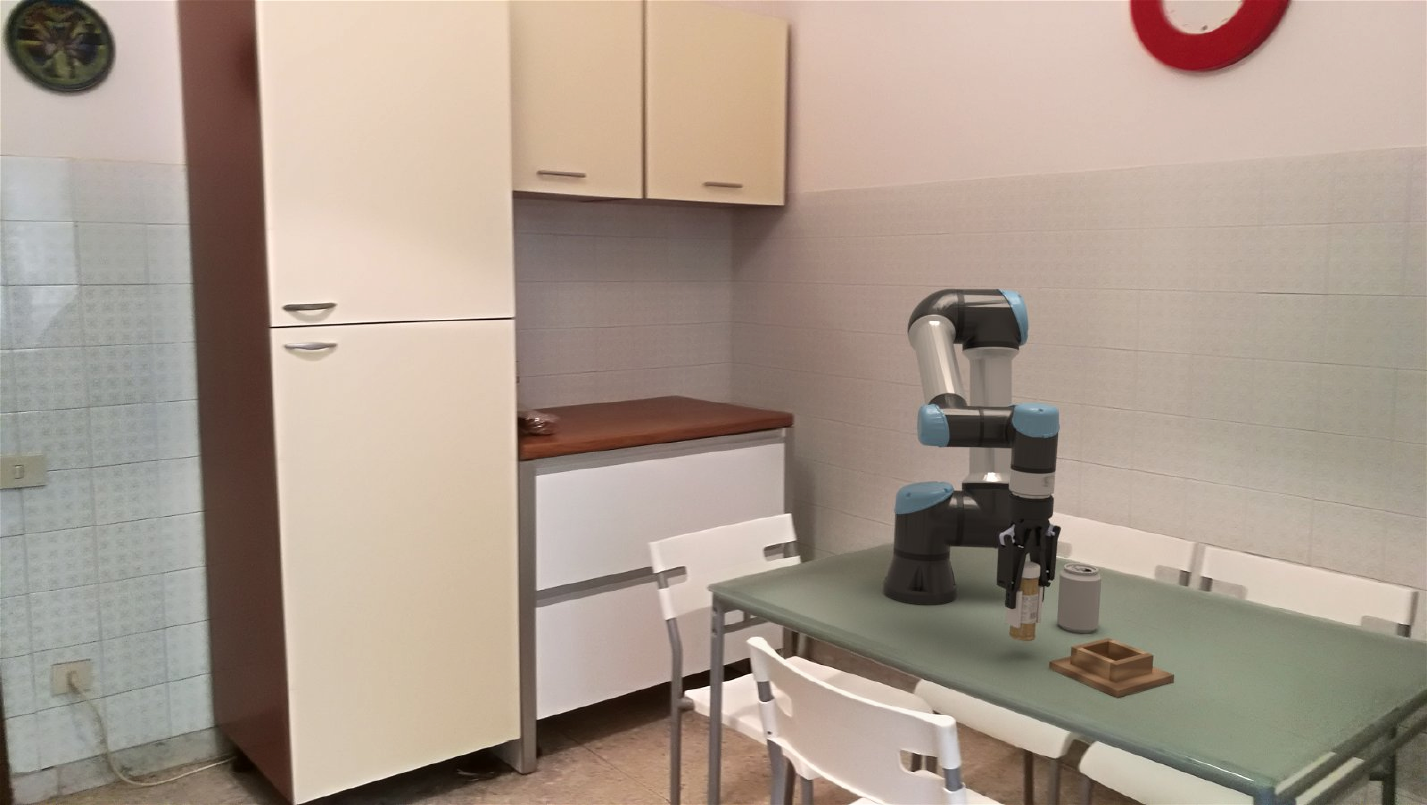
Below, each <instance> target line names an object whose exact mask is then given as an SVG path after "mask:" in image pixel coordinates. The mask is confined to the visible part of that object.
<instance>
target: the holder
mask: <svg viewBox="0 0 1427 805" xmlns="http://www.w3.org/2000/svg"><path fill="white" fill-rule="evenodd" d="M1048 668H1049V669H1050V670H1052V671H1054V672H1057V673H1059V674H1061V675H1064V676H1066V677H1069V678H1071V679H1073V680H1075V681H1078V682H1080V683H1082V684H1085V685H1087V686H1089V687H1091V688H1094V689H1096V690H1098V691H1100V692H1103V693H1105V694H1107V695H1110V696H1112V697H1114V698H1116V699H1118V698H1121V697H1125V696H1129V695H1132V694H1136V693H1139V692H1142V691H1146V690H1149V689H1153V688H1156V687H1159V686H1161V687H1162V686H1164V685H1166V684H1171V683H1174V682H1175V674H1173V673H1171V672H1168V671H1166V670H1163V669H1160V668H1159V667H1155V666H1154V654H1152V653H1148V652H1146V651H1145V650H1141V649H1139V648H1136V647H1132V646H1131V645H1128V644H1125V643H1122V642H1120V641H1117V640H1114V639H1111V638H1109V637H1106V638H1102V639H1098V640H1094V641H1088V642H1085V643H1081V644H1076V645H1073V646H1070V656H1065V657H1062V658H1057V659H1054V660H1050V661H1049V662H1048Z"/></svg>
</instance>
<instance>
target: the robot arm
mask: <svg viewBox="0 0 1427 805" xmlns="http://www.w3.org/2000/svg"><path fill="white" fill-rule="evenodd" d="M1028 316H1029V315H1028V310H1027V306H1026V303H1025V300H1024V298H1023V297H1022V295H1021V294H1020V293H1019V291H1018V292H1017V291H1016V290H1009V289H1008V290H1007V289H1000V288H995V289H993V288H987V289H986V288H985V289H984V288H982V289H981V288H980V289H979V288H978V289H977V288H974V289H973V288H972V289H970V288H969V289H968V288H967V289H966V288H945V289H941V290H940V289H939V290H937V291H935V292H933V293H931V294H929V295H928V296H926V297H924V298H923V299H922V300H921V301H920V302H919V303H918V304H917V305H916V306H915V308H914V309H913V311H912V313H911V314H910V316H909V319H908V322H907V331H906V332H907V337H908V338H907V339H908V342H909V344H910V346H911V347H912V349H913V350H914V351H915V354H916V360H917V364H918V371H919V375H920V376H919V377H920V383H921V387H922V392H923V393H922V394H923V398H924V403H925V404H924V405H921V406H920V407H919V408H918V412H917V419H916V420H917V421H916V424H917V425H916V431H917V439H918V441H919V443H920V444H921V445H922V446H929V447H938V448H969V451H968V454H969V455H968V456H969V458H968V460H969V465H968V466H969V467H968V472H969V473H968V475H967V476H966V477H965V478H964V479H963V480H962V481H961V490H960V489H959V490H955V489H954V487H953V484H952V483H950V482H947V481H938V480H937V481H933V480H931V481H919V482H914V483H910V484H907V485H904V486H902V487H901V488H899V489H898V491H897V492H896V495H895V503H894V509H893V513H894V530H893V550H892V551H893V553H892V554H893V555H892V559H891V561H890V564H889V566H888V571H887V574H886V576H885V577H884V580H883V588H882V589H883V594H885V596H887V597H889V598H891V599H892V600H895V601H899V602H903V603H909V604H915V605H941V604H942V605H943V604H947V603H950V602H953V601H955V600H956V599H957V597H958V584H957V582H956V579H955V574H954V571H953V566H952V563H951V557H950V556H951V548H953V547H957V548H959V547H961V548H983V549H987V548H988V549H995V550H997V563H996V564H997V566H996V567H997V568H996V586H997V587H1000V588H1002V589H1004V590H1005V595H1004V596H1005V597H1004V606H1005V607H1006V610H1005V624H1007V625H1009V626H1010V625H1011V626H1013V627H1016V628H1020V624H1021V608H1022V591H1020V590H1019V587H1020V583H1021V578H1022V573H1023V569H1024V564H1025V561H1027V555H1028V554H1029V561H1030V562H1034V563H1037V564H1038V565H1040V576H1039V579H1038V604H1037V619H1036V624H1040V623H1042V611H1043V602H1044V600H1045V591H1046V590H1045V589H1046V588H1049V587H1050V586H1051V582H1053V581H1054V580H1055V579H1056V578H1055V577H1056V564H1057V556H1058V555H1057V552H1058V540H1059V537H1060V534H1061V531H1062V527H1061V526H1060V525H1057V524H1053V523H1051V522H1050V520H1049V519H1051V518H1052V517H1053V516H1054V504H1055V497H1053V495H1052V494H1055V484H1056V481H1055V480H1056V470H1057V456H1058V445H1059V443H1058V442H1059V432H1060V429H1061V425H1060V411H1059V409H1058V408H1057V407H1056V406H1054V405H1052V404H1047V403H1041V402H1040V403H1039V402H1022V403H1018V404H1017V403H1014V404H1012V403H1013V399H1012V398H1013V391H1012V390H1013V386H1012V384H1013V383H1012V381H1013V380H1012V379H1013V378H1012V377H1013V375H1012V374H1013V370H1012V368H1013V366H1012V365H1013V360H1014V359H1015V358H1016V357H1017V356H1018V355H1019V354H1020V347H1023V346H1024V345H1025V344H1026V343H1027V341H1028V337H1029V317H1028ZM954 345H961V346H962V348H961V350H962V352H961V354H963V356H964V357H965V358H966V359H967V360H968V361H969V405H968V401H967V397H966V393H965V389H964V385H963V379H962V376H961V372H960V367H959V364H958V363H959V362H958V359H957V354H956V351H955V350H956V349H955V346H954ZM1050 581H1051V582H1050ZM1045 587H1046V588H1045Z"/></svg>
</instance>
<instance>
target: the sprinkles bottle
mask: <svg viewBox="0 0 1427 805" xmlns="http://www.w3.org/2000/svg"><path fill="white" fill-rule="evenodd" d="M1039 576H1040V565H1038V564H1037V563H1034V562H1030V560H1025V564H1024V569H1023V573H1022V578H1021V583H1020V587H1019V590H1020V591H1022V608H1021V624H1020V628H1016V627H1013V626H1011V625H1009V626H1010V627H1009V628H1010V629H1009V633H1008V635H1009V637H1011V638H1012V639H1013V640H1016V641H1021V642H1031V641H1034V640H1035V639H1036V638H1037V636H1036V625H1037V623H1036V619H1037V604H1038V579H1039Z"/></svg>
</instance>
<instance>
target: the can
mask: <svg viewBox="0 0 1427 805" xmlns="http://www.w3.org/2000/svg"><path fill="white" fill-rule="evenodd" d="M1101 588H1102V575H1101V574H1100V573H1099V568H1098V567H1096V566H1094V565H1090V564H1086V563H1080V562H1079V563H1078V562H1076V563H1074V562H1070V563H1066V564H1064V565H1063V569H1062V570H1061V571H1060V572H1059V583H1058V597H1057V599H1058V600H1057V601H1058V602H1057V616H1056V618H1057V620H1056V622H1057V623H1058V625H1059V626H1060V627H1061V628H1062V629H1064V630H1066V631H1069V632H1072V633H1078V634H1085V633H1086V634H1087V633H1092V632H1094V631H1095V630H1096V629H1098V628H1099V622H1100V621H1099V620H1100V605H1101V604H1100V603H1101Z"/></svg>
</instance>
